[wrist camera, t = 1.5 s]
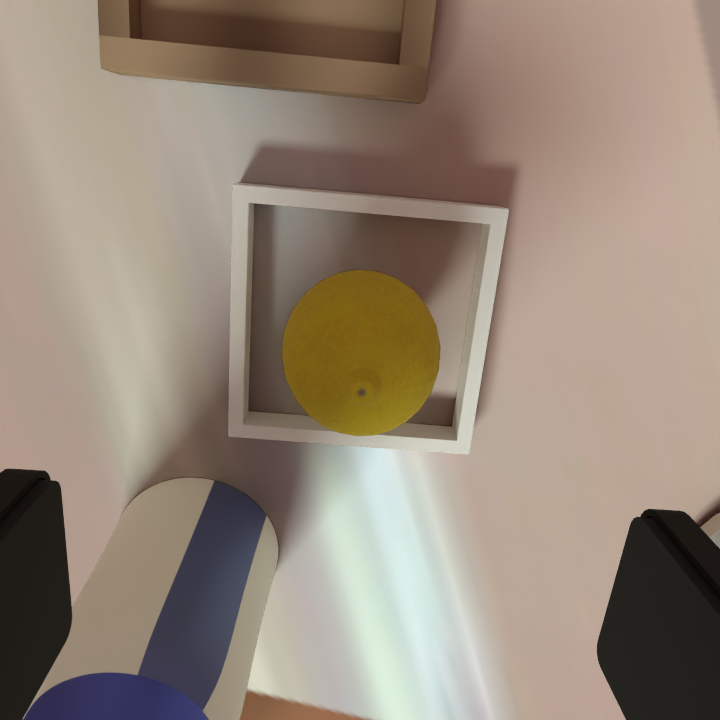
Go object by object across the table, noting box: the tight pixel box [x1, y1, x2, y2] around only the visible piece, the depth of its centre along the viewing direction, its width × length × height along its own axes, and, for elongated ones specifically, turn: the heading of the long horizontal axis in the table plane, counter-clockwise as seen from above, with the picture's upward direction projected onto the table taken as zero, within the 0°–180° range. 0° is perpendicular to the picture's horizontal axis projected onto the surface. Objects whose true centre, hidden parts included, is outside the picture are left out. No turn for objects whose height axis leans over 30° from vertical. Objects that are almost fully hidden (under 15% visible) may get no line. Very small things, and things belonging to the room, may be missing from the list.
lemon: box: [282, 270, 440, 436], centre depth 21 cm, size 6×6×8 cm
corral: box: [228, 182, 509, 455], centre depth 24 cm, size 10×10×1 cm
